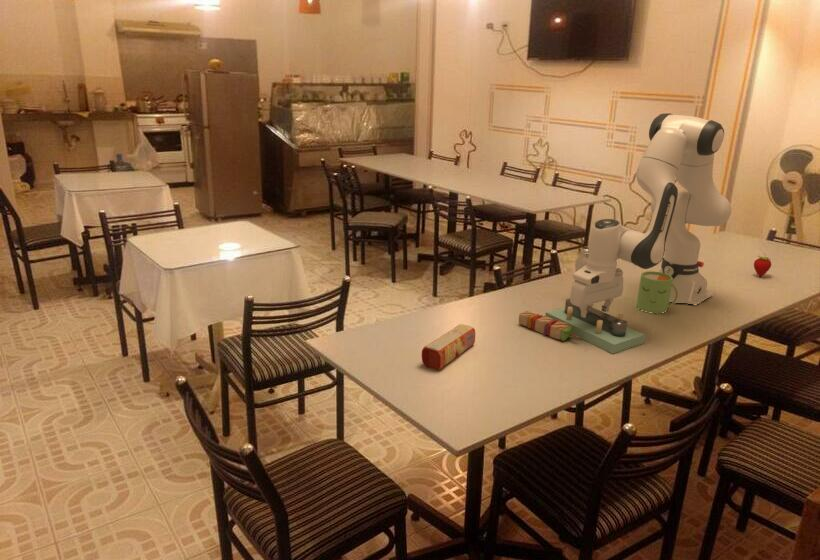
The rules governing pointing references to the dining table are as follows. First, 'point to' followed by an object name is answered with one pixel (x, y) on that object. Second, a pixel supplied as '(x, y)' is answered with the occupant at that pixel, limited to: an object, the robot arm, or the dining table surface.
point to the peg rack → (598, 332)
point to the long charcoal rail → (609, 322)
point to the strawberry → (762, 265)
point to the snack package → (448, 346)
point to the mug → (655, 292)
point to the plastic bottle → (582, 258)
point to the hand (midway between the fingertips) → (594, 313)
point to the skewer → (547, 325)
